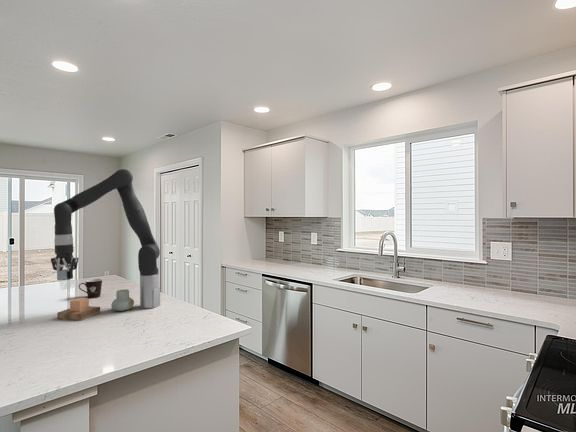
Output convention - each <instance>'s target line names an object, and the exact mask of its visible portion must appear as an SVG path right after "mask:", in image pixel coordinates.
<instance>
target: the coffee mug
mask: <svg viewBox="0 0 576 432" xmlns="http://www.w3.org/2000/svg"><path fill="white" fill-rule="evenodd" d="M81 285H85V287H86V290H84V289H82V288H81ZM102 285H103V278H93V279H87V280H85V282H81V283H79V284H78V289H79V290H81V291H82V292H84V293H86V294H87V298H89V299H97V298H100V297H101V294H102Z"/></svg>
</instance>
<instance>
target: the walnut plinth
mask: <svg viewBox="0 0 576 432" xmlns="http://www.w3.org/2000/svg"><path fill="white" fill-rule="evenodd" d="M98 314H101V306H92V305H89V308H88V309H86V310H83V311H80V312H77V311H70V308H67V309H64V310H61V311H59V312H57V315H56V316H57V318H56V319H57V320H68V321H69V320H70V321H84V320H85V319H89V318H91V317H93V316H96V315H98Z"/></svg>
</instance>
